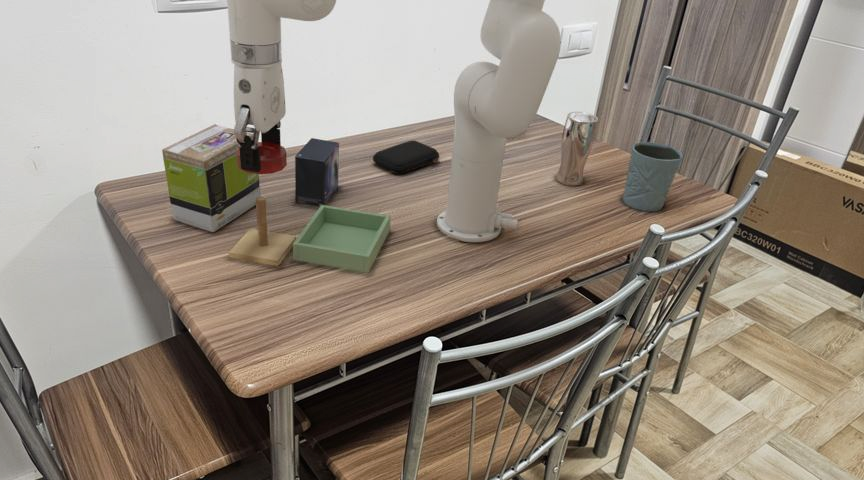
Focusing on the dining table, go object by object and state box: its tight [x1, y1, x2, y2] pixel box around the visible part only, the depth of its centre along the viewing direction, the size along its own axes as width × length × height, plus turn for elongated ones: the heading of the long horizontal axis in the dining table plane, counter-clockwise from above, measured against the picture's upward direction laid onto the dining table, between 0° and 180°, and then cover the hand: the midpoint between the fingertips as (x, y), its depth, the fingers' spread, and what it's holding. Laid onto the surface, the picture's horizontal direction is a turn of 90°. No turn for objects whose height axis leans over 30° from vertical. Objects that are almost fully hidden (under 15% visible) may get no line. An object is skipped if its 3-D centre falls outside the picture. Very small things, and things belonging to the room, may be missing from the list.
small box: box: [294, 137, 340, 208], centre depth 139 cm, size 11×6×10 cm, turn 168°
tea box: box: [161, 123, 262, 233], centre depth 129 cm, size 15×10×15 cm, turn 154°
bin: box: [292, 205, 391, 274], centre depth 124 cm, size 14×16×4 cm
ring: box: [236, 141, 288, 175], centre depth 112 cm, size 8×8×2 cm
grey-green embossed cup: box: [622, 141, 683, 212], centre depth 145 cm, size 10×10×12 cm
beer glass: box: [555, 111, 599, 187], centre depth 152 cm, size 7×7×15 cm
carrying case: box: [372, 140, 440, 175], centre depth 157 cm, size 11×3×15 cm
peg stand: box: [228, 195, 297, 267], centre depth 119 cm, size 9×9×10 cm
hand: (261, 159), depth 113 cm, fingers closed on ring, 7 cm apart
